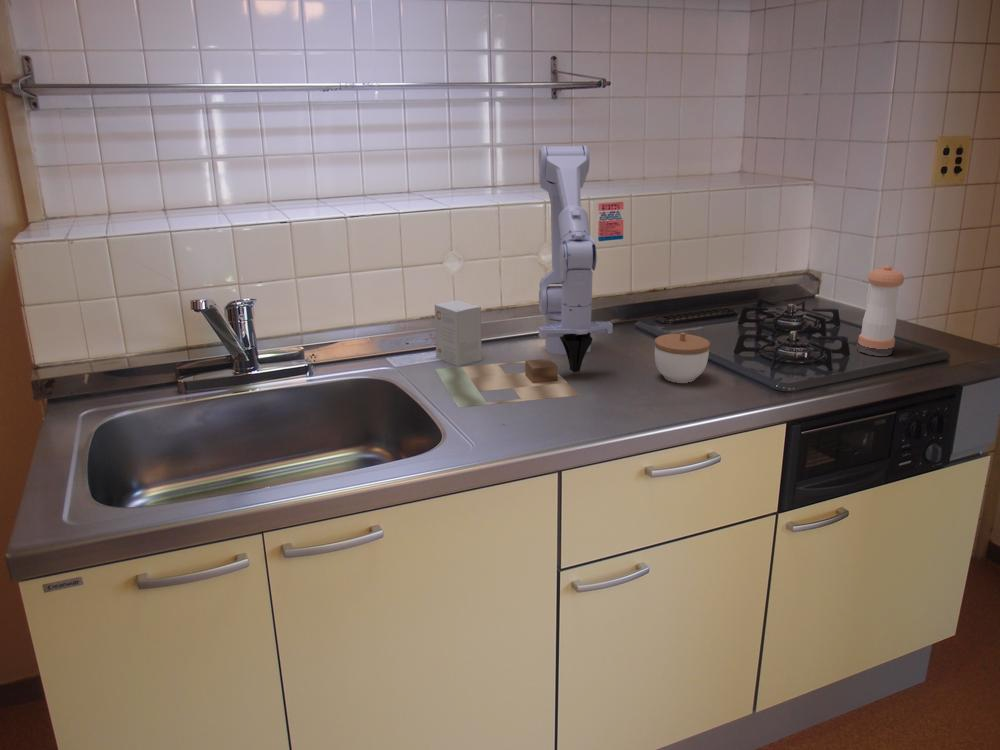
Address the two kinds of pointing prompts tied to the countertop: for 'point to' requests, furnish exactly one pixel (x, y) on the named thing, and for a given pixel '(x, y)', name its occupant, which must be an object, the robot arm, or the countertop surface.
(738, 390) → the countertop surface
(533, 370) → the block
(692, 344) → the lidded jar
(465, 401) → the board
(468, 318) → the small box
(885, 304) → the pepper shaker
